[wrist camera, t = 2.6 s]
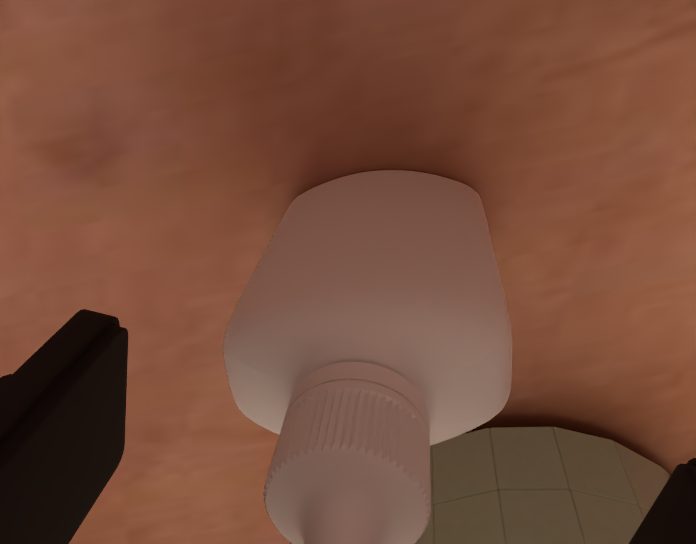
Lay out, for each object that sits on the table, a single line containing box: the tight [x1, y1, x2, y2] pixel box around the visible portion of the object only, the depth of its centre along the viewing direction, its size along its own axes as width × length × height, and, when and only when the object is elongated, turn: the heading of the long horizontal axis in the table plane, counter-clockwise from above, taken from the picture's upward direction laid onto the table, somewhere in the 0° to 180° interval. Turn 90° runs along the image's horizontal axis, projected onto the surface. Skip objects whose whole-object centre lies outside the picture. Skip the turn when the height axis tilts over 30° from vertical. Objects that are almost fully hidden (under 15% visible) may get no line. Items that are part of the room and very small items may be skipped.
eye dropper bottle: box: [223, 170, 513, 544], centre depth 13 cm, size 4×6×12 cm
